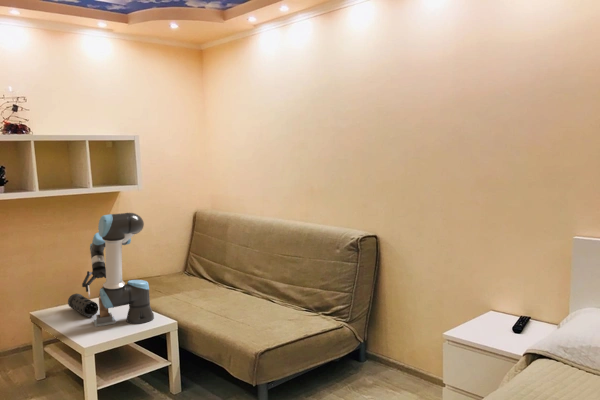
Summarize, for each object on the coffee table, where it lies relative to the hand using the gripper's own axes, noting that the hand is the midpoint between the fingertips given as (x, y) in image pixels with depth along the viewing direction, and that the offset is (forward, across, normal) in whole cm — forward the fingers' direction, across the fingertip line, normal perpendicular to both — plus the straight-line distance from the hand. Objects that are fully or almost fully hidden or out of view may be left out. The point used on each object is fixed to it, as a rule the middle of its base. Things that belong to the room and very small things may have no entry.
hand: (102, 294), depth 289 cm
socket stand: (+14, 0, -8) cm, 16 cm away
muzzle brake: (-4, +10, -26) cm, 28 cm away
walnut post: (+14, 0, -7) cm, 15 cm away
